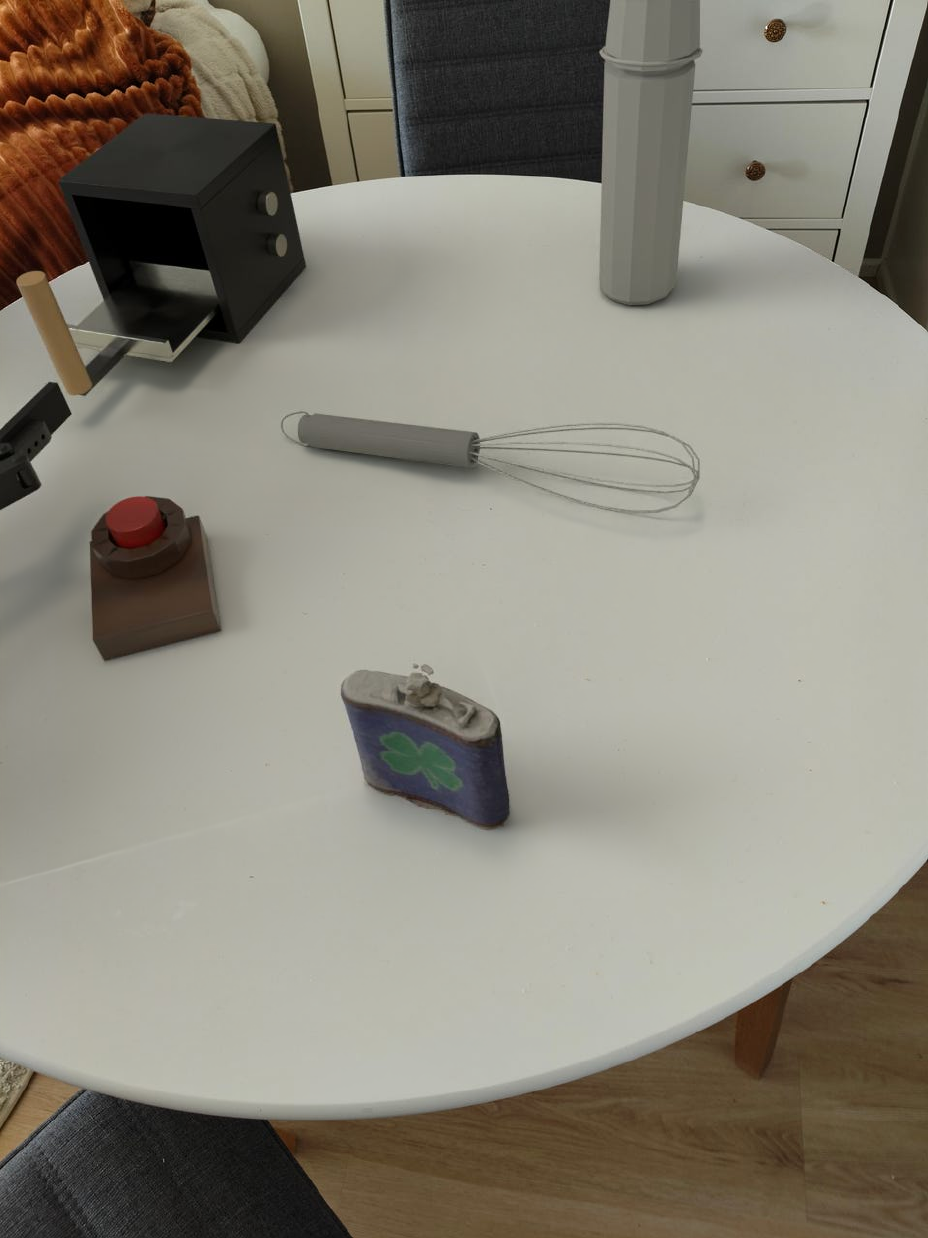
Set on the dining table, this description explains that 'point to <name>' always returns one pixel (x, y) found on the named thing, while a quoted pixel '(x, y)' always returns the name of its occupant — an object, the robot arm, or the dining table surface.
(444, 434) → the kitchen whisk
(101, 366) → the tray
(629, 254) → the water bottle
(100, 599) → the brown boxy piece
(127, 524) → the button
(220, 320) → the oven
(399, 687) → the flask
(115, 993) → the dining table surface
